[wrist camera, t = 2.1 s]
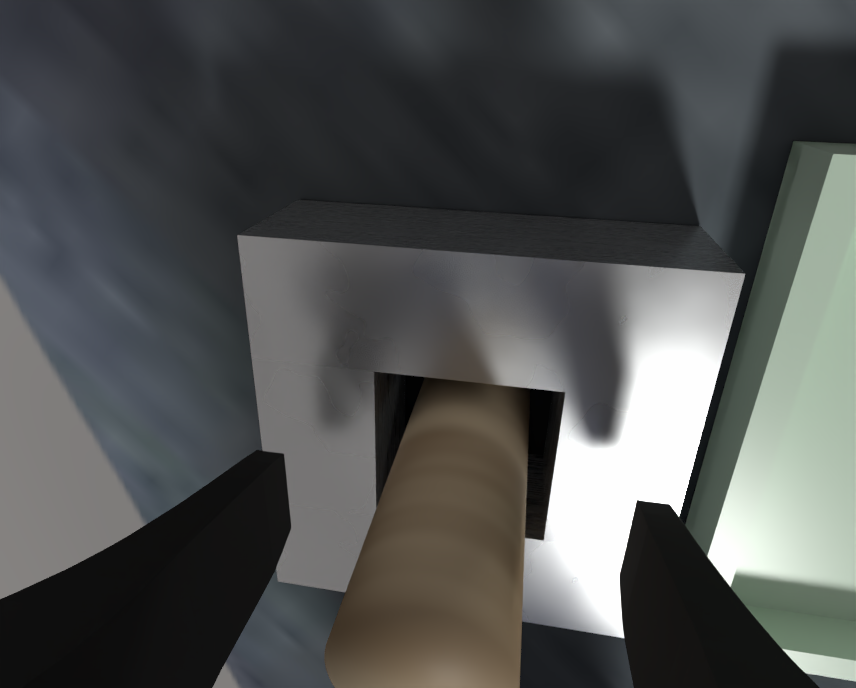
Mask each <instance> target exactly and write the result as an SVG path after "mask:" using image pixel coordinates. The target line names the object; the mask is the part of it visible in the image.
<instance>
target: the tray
mask: <svg viewBox="0 0 856 688" xmlns="http://www.w3.org/2000/svg"><path fill="white" fill-rule="evenodd" d="M685 526H686V527H687V529H688V530H689V531H690V533H691V534H692V536H693V537H694V538H695V540H696V541H697V543H698V544H699V546H700V547H701V548H702V550H703V551H704V552H705V554H706V555H707V557H708V558H709V559H710V561H711V562H712V563H713V565H714V566H715V567H716V569H717V570H718V571H719V573H720V574H721V575H722V577H723V578H724V579H725V580H726V582H727V583H728V584H729V586H730V587H731V588H732V589H733V591H734V592H735V593H736V595H737V596H738V597H739V598H740V600H741V601H742V602H743V603H744V605H745V606H746V607H747V608H748V610H749V611H750V612H751V613H752V614H753V616H754V617H755V618H756V619H757V620H758V622H759V623H760V624H761V625H762V626H763V627H764V629H765V630H766V631H767V632H768V633H769V634H770V636H771V637H772V638H773V639H774V640H775V641H776V643H777V644H778V645H779V646H780V647H781V648H782V649H783V650H784V651H785V653H786V654H787V655H788V656H789V657H790V658H791V659H792V660H793V661H794V662H795V663H796V664H797V665H798V666H799V667H800V668H801V669H802V670H803V671H804V672H805V673H808V674H814V675H820V676H827V677H833V678H839V679H845V680H851V681H856V144H851V143H829V142H807V141H793V144H792V148H791V151H790V155H789V158H788V162H787V166H786V169H785V173H784V176H783V180H782V183H781V187H780V190H779V194H778V197H777V201H776V205H775V208H774V212H773V215H772V219H771V222H770V226H769V229H768V233H767V236H766V240H765V244H764V247H763V251H762V254H761V258H760V261H759V265H758V268H757V272H756V276H755V279H754V283H753V286H752V290H751V293H750V297H749V300H748V304H747V307H746V311H745V315H744V318H743V322H742V325H741V329H740V332H739V336H738V339H737V343H736V346H735V350H734V354H733V357H732V361H731V364H730V368H729V371H728V375H727V378H726V382H725V385H724V389H723V393H722V396H721V400H720V403H719V407H718V410H717V414H716V417H715V421H714V424H713V428H712V432H711V435H710V439H709V442H708V446H707V449H706V453H705V456H704V460H703V463H702V467H701V471H700V474H699V478H698V481H697V485H696V488H695V492H694V495H693V499H692V503H691V506H690V510H689V513H688V517H687V520H686V524H685Z"/></svg>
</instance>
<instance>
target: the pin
mask: <svg viewBox="0 0 856 688" xmlns="http://www.w3.org/2000/svg"><path fill="white" fill-rule="evenodd" d="M529 413H530V388H522V387H513V386H503V385H494V384H485V383H476V382H466V381H457V380H448V379H438V378H429V377H425V378H424V381H423V384H422V386H421V389H420V392H419V394H418V397H417V400H416V402H415V405H414V408H413V411H412V413H411V416H410V419H409V421H408V424H407V427H406V430H405V432H404V435H403V438H402V440H401V443H400V446H399V449H398V451H397V454H396V457H395V459H394V462H393V465H392V468H391V470H390V473H389V476H388V478H387V481H386V484H385V486H384V489H383V492H382V495H381V497H380V500H379V503H378V505H377V508H376V511H375V514H374V516H373V519H372V522H371V524H370V527H369V530H368V533H367V535H366V538H365V541H364V543H363V546H362V549H361V552H360V554H359V557H358V560H357V562H356V565H355V568H354V570H353V573H352V576H351V579H350V581H349V584H348V587H347V589H346V592H345V595H344V598H343V600H342V603H341V606H340V608H339V611H338V614H337V617H336V619H335V622H334V625H333V627H332V630H331V633H330V636H329V638H328V641H327V644H326V648H325V665H326V670H327V673H328V676H329V678H330V680H331V682H332V684H333V686H334V687H335V688H520V661H521V634H522V606H523V579H524V551H525V523H526V496H527V468H528V441H529Z"/></svg>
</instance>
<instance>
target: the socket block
mask: <svg viewBox="0 0 856 688" xmlns="http://www.w3.org/2000/svg"><path fill="white" fill-rule="evenodd" d="M237 238H238V246H239V255H240V263H241V272H242V280H243V289H244V297H245V306H246V314H247V323H248V331H249V340H250V348H251V357H252V365H253V374H254V382H255V391H256V399H257V408H258V416H259V425H260V433H261V442H262V450H263V451H267V452H275V453H283V454H284V458H285V468H286V478H287V488H288V498H289V508H290V518H291V530H290V533H289V536H288V538H287V541H286V544H285V546H284V549H283V552H282V554H281V557H280V559H279V562H278V564H277V567H276V569H277V577H278V581H279V582H285V583H291V584H297V585H303V586H309V587H315V588H322V589H328V590H334V591H340V592H346V589H347V587H348V584H349V581H350V579H351V576H352V573H353V570H354V568H355V565H356V562H357V560H358V557H359V554H360V552H361V549H362V546H363V543H364V541H365V538H366V535H367V533H368V530H369V527H370V524H371V522H372V519H373V516H374V514H375V511H376V508H377V505H378V503H379V500H380V497H381V495H382V492H383V489H384V486H385V484H386V481H387V478H388V476H389V473H390V470H391V468H392V465H393V462H394V459H395V457H396V454H397V451H398V449H399V446H400V443H401V440H402V438H403V435H404V432H405V375H411V376H420V377H429V378H438V379H448V380H457V381H466V382H476V383H485V384H494V385H503V386H513V387H522V388H531V389H540V390H550V391H552V397H551V404H550V411H549V419H548V426H547V433H546V441H545V448H544V455H536V454H528V468H527V496H526V523H525V551H524V579H523V606H522V621H523V622H529V623H535V624H541V625H547V626H553V627H559V628H565V629H572V630H578V631H584V632H590V633H596V634H602V635H608V636H614V637H620V638H624V632H623V625H622V613H621V599H620V583H619V575H620V570H621V566H622V562H623V557H624V553H625V549H626V544H627V540H628V536H629V531H630V527H631V523H632V518H633V514H634V510H635V505H636V501H637V500H643V501H650V502H658V503H666V504H670V505H671V506H672V508H673V509H674V510H675V511H676V513H677V514H678V516H679V515H680V511H681V507H682V504H683V500H684V496H685V493H686V489H687V485H688V482H689V478H690V474H691V471H692V467H693V464H694V460H695V456H696V453H697V449H698V445H699V442H700V438H701V434H702V431H703V427H704V423H705V420H706V416H707V412H708V409H709V405H710V401H711V398H712V394H713V390H714V387H715V383H716V380H717V376H718V372H719V369H720V365H721V361H722V358H723V354H724V350H725V347H726V343H727V339H728V336H729V332H730V328H731V325H732V321H733V317H734V314H735V310H736V306H737V303H738V299H739V295H740V292H741V288H742V285H743V281H744V277H745V273H744V272H743V271H742V270H741V269H740V268H739V267H738V265H737V264H736V263H735V262H734V261H733V260H732V259H731V258H730V257H729V256H728V255H727V254H726V253H725V252H724V251H723V250H722V248H721V247H720V246H719V245H718V244H717V243H716V242H715V241H714V240H713V239H712V238H711V237H710V236H709V235H708V234H707V233H706V231H705V230H704V229H703V228H702V227H701V226H689V225H674V224H659V223H643V222H628V221H613V220H598V219H583V218H568V217H553V216H538V215H522V214H507V213H492V212H477V211H462V210H447V209H432V208H417V207H401V206H386V205H371V204H356V203H341V202H326V201H311V200H297V201H295V202H294V203H292V204H290V205H288V206H287V207H285V208H283V209H281V210H280V211H278V212H276V213H275V214H273V215H271V216H269V217H268V218H266V219H264V220H262V221H261V222H259V223H257V224H256V225H254V226H252V227H250V228H249V229H247V230H245V231H243V232H242V233H240V234H238V235H237Z"/></svg>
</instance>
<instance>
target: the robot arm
mask: <svg viewBox="0 0 856 688" xmlns="http://www.w3.org/2000/svg"><path fill="white" fill-rule="evenodd" d="M290 530H291V518H290V508H289V498H288V488H287V478H286V468H285V458H284V454H283V453H275V452H267V451H260V450H256V451H255V452H253V453H252V454H250V455H249V456H247V457H246V458H244V459H243V460H241V461H240V462H239V463H237V464H236V465H234V466H233V467H231V468H230V469H229V470H227V471H226V472H224V473H223V474H222V475H220V476H219V477H217V478H216V479H215V480H213V481H212V482H210V483H209V484H207V485H206V486H204V487H203V488H202V489H200V490H199V491H197V492H196V493H194V494H193V495H191V496H190V497H188V498H187V499H186V500H184V501H183V502H181V503H180V504H178V505H177V506H175V507H174V508H172V509H171V510H169V511H167V512H166V513H164V514H163V515H161V516H159V517H158V518H156V519H155V520H153V521H151V522H150V523H148V524H147V525H145V526H143V527H142V528H140V529H139V530H137V531H135V532H134V533H132V534H131V535H129V536H127V537H126V538H124V539H122V540H120V541H119V542H117V543H115V544H114V545H112V546H110V547H108V548H106V549H104V550H103V551H101V552H99V553H97V554H95V555H93V556H91V557H89V558H87V559H86V560H84V561H82V562H80V563H78V564H76V565H74V566H72V567H70V568H68V569H66V570H64V571H62V572H60V573H57V574H56V575H53V576H51V577H49V578H47V579H44V580H42V581H40V582H38V583H36V584H34V585H32V586H29V587H27V588H25V589H23V590H21V591H18V592H16V593H14V594H12V595H9V596H7V597H5V598H2V599H0V688H212V687H213V685H214V683H215V681H216V679H217V677H218V675H219V673H220V671H221V669H222V667H223V666H224V664H225V662H226V660H227V658H228V656H229V655H230V653H231V651H232V649H233V647H234V645H235V644H236V642H237V640H238V638H239V636H240V635H241V633H242V631H243V629H244V627H245V625H246V624H247V622H248V620H249V618H250V616H251V614H252V613H253V611H254V609H255V607H256V605H257V603H258V602H259V600H260V598H261V596H262V594H263V592H264V590H265V589H266V587H267V585H268V583H269V581H270V579H271V577H272V575H273V573H274V571H275V569H276V567H277V564H278V562H279V559H280V557H281V554H282V552H283V549H284V546H285V544H286V541H287V538H288V536H289V533H290ZM619 583H620V599H621V613H622V625H623V632H624V638H625V643H626V649H627V654H628V659H629V664H630V670H631V675H632V680H633V685H634V688H819V687H818V686H817V685H816V684H815V683H814V682H813V681H812V680H811V679H810V678H809V677H808V676H807V674H806V673H805V672H804V671H803V670H802V669H801V668H800V667H799V666H798V665H797V664H796V663H795V662H794V661H793V660H792V659H791V658H790V657H789V656H788V655H787V654H786V653H785V651H784V650H783V649H782V648H781V647H780V646H779V645H778V644H777V643H776V641H775V640H774V639H773V638H772V637H771V636H770V634H769V633H768V632H767V631H766V630H765V629H764V627H763V626H762V625H761V624H760V623H759V622H758V620H757V619H756V618H755V617H754V616H753V614H752V613H751V612H750V611H749V610H748V608H747V607H746V606H745V605H744V603H743V602H742V601H741V600H740V598H739V597H738V596H737V595H736V593H735V592H734V591H733V589H732V588H731V587H730V586H729V584H728V583H727V582H726V580H725V579H724V578H723V577H722V575H721V574H720V573H719V571H718V570H717V569H716V567H715V566H714V565H713V563H712V562H711V561H710V559H709V558H708V557H707V555H706V554H705V552H704V551H703V550H702V548H701V547H700V546H699V544H698V543H697V541H696V540H695V538H694V537H693V536H692V534H691V533H690V531H689V530H688V529H687V527H686V526H685V524H684V523H683V521H682V520H681V519H680V517H679V516H678V514H677V513H676V511H675V510H674V509H673V508H672V506H671V505H670V504H666V503H658V502H650V501H643V500H637V501H636V505H635V510H634V514H633V518H632V523H631V527H630V531H629V536H628V540H627V544H626V549H625V553H624V557H623V562H622V566H621V570H620V575H619Z"/></svg>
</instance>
